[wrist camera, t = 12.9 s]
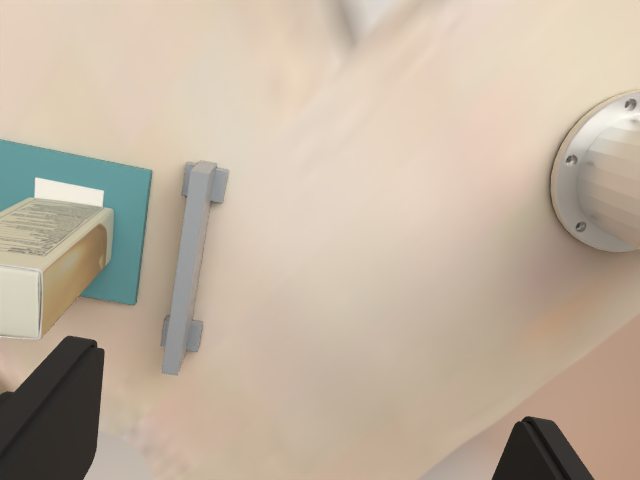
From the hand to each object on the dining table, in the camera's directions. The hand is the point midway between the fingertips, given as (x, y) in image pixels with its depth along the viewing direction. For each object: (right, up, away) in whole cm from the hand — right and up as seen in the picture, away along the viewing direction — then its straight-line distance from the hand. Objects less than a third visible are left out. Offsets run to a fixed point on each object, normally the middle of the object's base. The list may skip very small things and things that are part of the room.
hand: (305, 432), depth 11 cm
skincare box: (-18, +5, +26) cm, 32 cm away
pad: (-19, +5, +27) cm, 33 cm away
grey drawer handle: (-10, +3, +28) cm, 30 cm away
